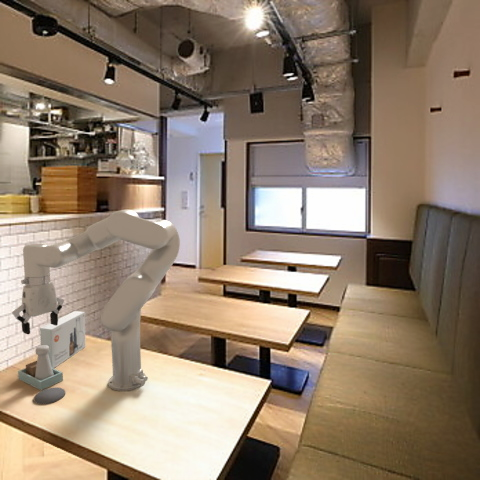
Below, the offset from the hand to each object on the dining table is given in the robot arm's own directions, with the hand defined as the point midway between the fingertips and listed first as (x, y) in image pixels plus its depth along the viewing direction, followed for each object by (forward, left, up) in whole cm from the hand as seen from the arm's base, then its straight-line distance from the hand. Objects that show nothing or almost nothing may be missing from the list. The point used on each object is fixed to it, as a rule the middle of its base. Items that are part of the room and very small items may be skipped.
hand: (40, 328), depth 129 cm
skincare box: (+12, -16, -20) cm, 28 cm away
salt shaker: (0, 0, -20) cm, 20 cm away
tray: (+2, 0, -19) cm, 19 cm away
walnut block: (+6, 0, -19) cm, 20 cm away
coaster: (-11, +4, -19) cm, 22 cm away
